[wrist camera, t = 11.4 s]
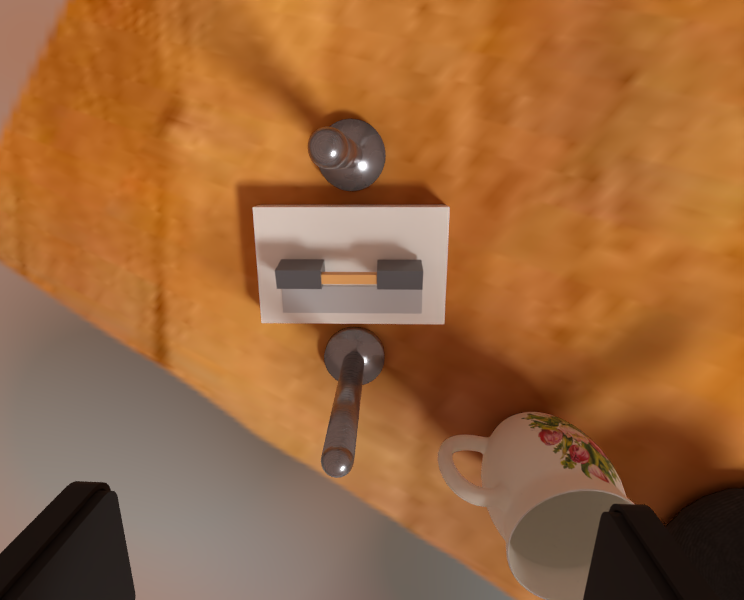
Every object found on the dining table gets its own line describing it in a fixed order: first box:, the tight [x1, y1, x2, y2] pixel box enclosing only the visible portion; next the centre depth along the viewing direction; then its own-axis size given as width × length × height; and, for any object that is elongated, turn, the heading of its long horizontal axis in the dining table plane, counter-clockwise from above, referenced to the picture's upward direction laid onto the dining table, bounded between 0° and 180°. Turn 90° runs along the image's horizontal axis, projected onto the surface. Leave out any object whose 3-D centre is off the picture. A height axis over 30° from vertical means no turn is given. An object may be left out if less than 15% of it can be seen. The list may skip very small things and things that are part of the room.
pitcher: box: [438, 412, 634, 600], centre depth 38 cm, size 11×18×14 cm, turn 72°
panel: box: [252, 205, 450, 324], centre depth 39 cm, size 10×16×3 cm, turn 90°
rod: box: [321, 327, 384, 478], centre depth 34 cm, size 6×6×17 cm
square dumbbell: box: [275, 259, 423, 290], centre depth 36 cm, size 2×12×2 cm, turn 90°
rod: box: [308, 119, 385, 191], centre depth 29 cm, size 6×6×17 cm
